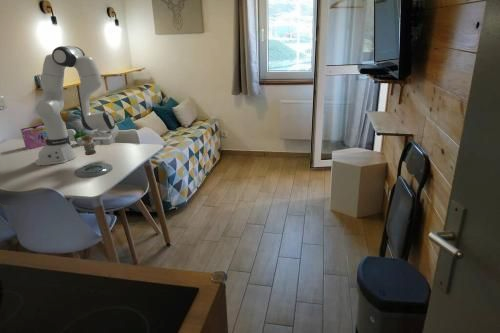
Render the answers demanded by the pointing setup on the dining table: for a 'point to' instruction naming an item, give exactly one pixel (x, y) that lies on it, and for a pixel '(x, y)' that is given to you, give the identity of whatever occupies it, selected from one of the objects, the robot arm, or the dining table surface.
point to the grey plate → (93, 170)
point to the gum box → (34, 136)
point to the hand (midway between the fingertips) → (87, 144)
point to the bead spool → (88, 145)
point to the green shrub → (79, 135)
